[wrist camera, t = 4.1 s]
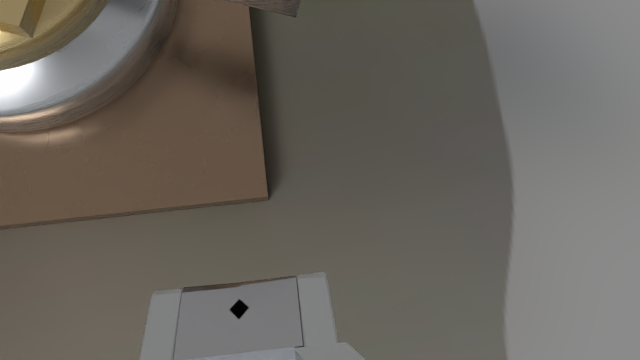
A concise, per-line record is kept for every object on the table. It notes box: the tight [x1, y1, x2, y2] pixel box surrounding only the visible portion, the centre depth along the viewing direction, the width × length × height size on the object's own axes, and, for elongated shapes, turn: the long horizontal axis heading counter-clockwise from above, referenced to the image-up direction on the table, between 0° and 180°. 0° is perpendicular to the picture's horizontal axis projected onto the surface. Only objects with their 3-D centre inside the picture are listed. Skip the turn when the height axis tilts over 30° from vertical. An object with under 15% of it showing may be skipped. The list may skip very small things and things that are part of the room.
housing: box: [0, 0, 269, 229], centre depth 25 cm, size 20×18×4 cm
